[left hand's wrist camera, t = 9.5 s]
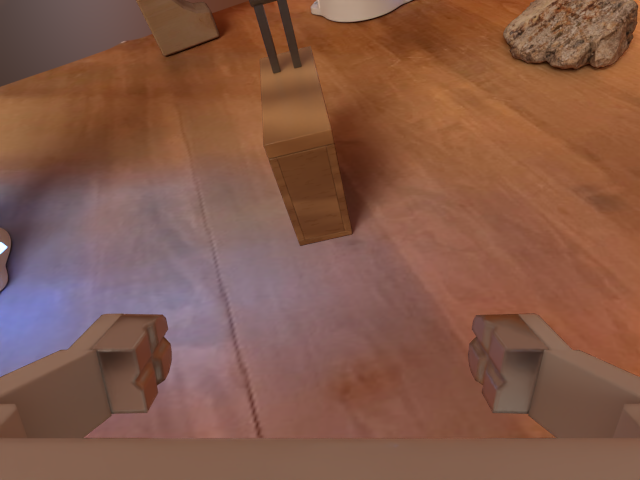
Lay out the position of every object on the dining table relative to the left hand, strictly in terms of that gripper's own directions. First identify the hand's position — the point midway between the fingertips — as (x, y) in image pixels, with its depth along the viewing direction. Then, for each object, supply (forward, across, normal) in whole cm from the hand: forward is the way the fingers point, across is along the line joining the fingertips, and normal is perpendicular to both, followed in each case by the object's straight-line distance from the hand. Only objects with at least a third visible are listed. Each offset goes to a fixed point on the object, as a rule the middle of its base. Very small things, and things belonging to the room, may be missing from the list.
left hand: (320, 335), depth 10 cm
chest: (+31, 0, -4) cm, 31 cm away
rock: (+46, +29, +11) cm, 56 cm away
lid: (+27, -2, +5) cm, 27 cm away
